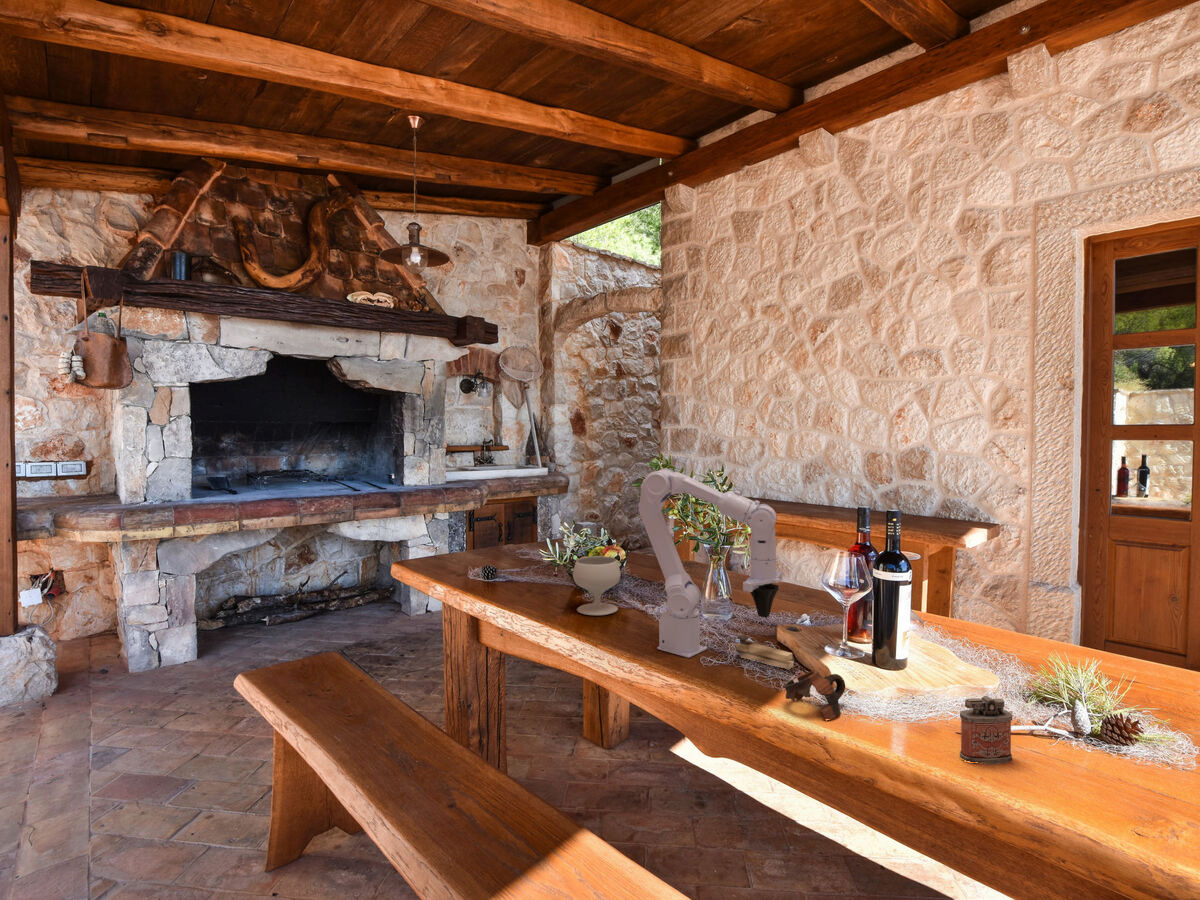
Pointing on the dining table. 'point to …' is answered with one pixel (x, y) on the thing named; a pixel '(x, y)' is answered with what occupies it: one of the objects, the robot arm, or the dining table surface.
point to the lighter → (986, 731)
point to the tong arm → (765, 651)
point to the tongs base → (762, 658)
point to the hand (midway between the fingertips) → (763, 616)
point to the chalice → (596, 581)
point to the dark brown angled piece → (818, 690)
